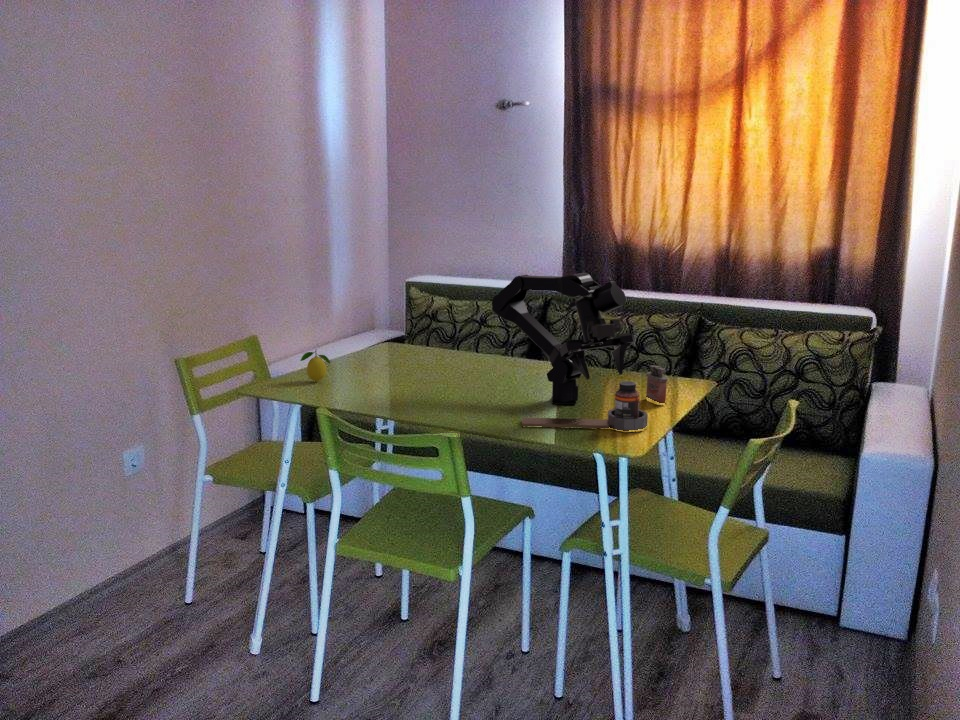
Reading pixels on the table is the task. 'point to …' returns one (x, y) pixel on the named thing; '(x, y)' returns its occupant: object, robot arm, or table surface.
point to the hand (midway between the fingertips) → (604, 376)
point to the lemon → (316, 366)
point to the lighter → (656, 384)
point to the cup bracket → (592, 422)
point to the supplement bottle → (627, 400)
